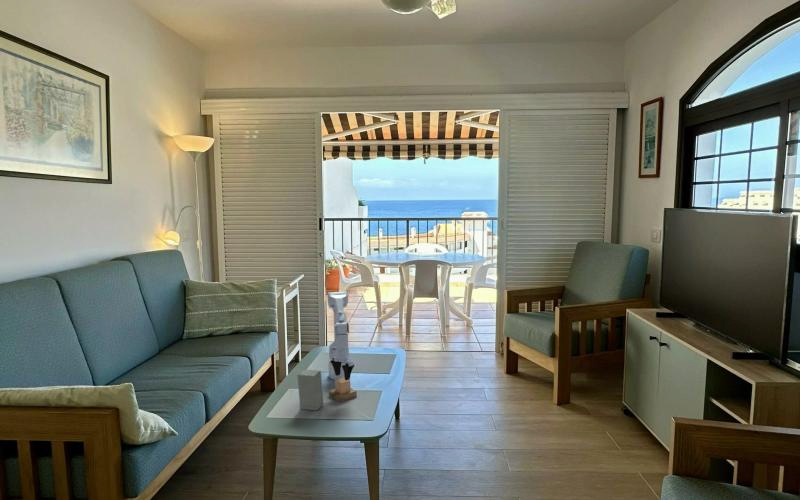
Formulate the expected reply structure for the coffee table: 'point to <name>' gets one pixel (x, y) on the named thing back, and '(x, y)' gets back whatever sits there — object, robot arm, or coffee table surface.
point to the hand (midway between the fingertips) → (342, 377)
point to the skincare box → (310, 389)
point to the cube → (342, 385)
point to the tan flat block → (342, 395)
